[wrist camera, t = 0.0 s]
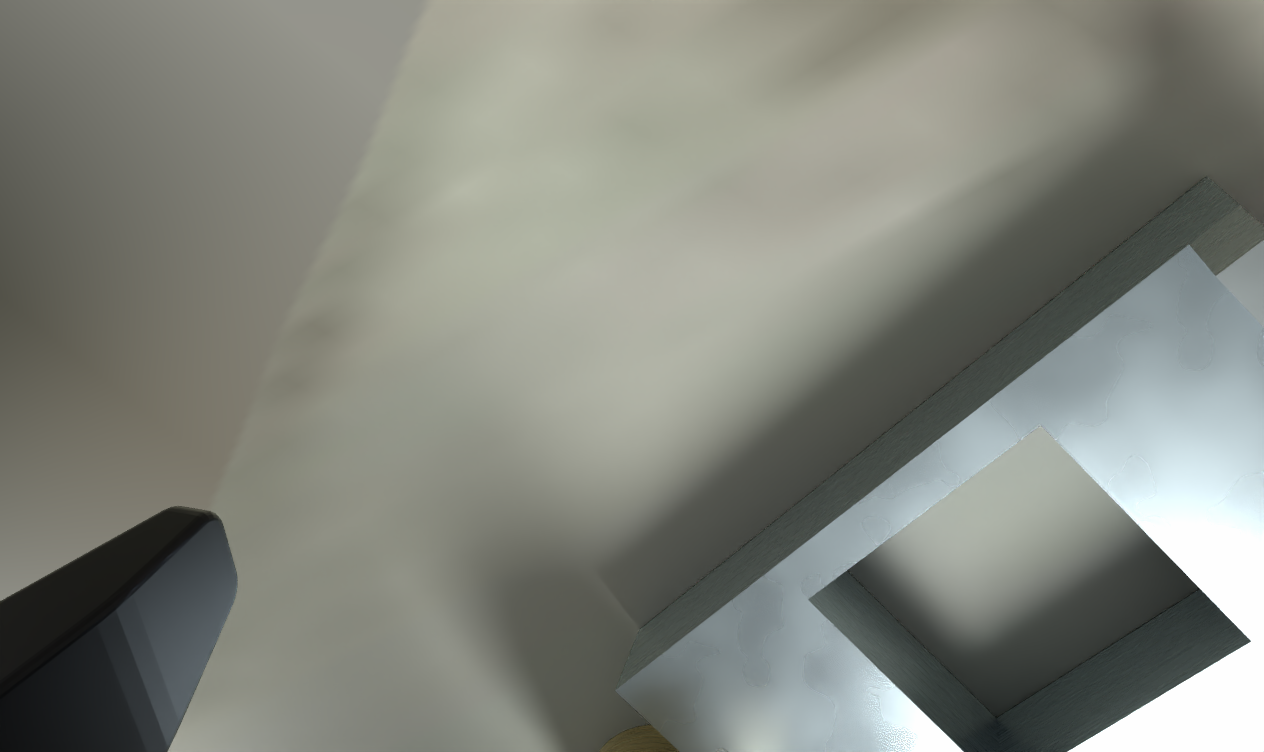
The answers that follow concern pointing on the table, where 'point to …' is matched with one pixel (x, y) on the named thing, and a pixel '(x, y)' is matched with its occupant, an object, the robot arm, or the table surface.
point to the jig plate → (954, 452)
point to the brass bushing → (639, 741)
